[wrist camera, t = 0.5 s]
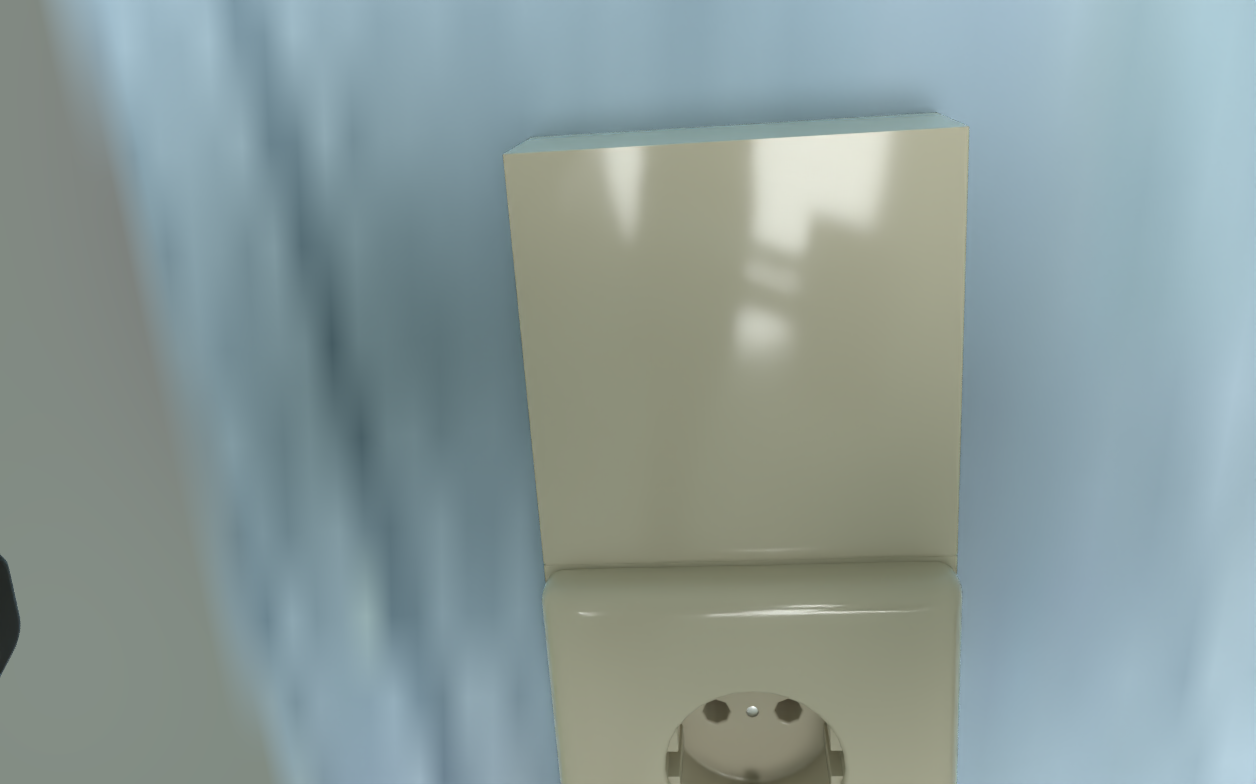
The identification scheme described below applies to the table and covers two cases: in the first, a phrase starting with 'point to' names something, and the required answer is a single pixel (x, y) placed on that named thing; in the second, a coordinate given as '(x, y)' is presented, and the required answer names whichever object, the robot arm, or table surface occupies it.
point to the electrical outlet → (748, 445)
